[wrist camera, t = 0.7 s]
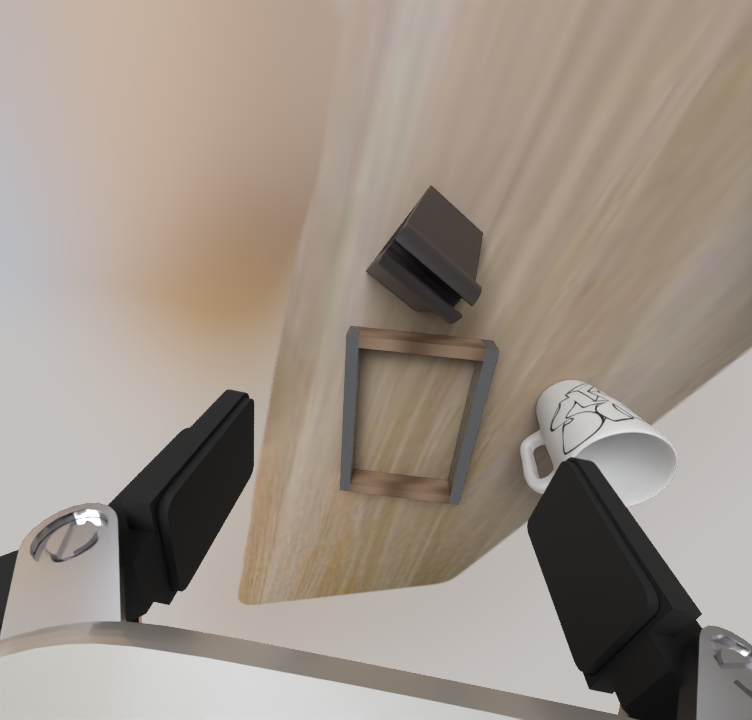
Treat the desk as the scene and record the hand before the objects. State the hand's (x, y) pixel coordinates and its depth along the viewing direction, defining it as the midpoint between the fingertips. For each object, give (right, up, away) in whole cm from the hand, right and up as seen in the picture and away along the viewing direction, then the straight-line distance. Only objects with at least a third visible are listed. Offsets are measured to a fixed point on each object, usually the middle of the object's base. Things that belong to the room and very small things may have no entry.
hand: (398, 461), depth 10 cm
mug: (+19, -3, +26) cm, 32 cm away
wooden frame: (+3, -3, +28) cm, 28 cm away
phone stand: (+4, +13, +20) cm, 24 cm away
